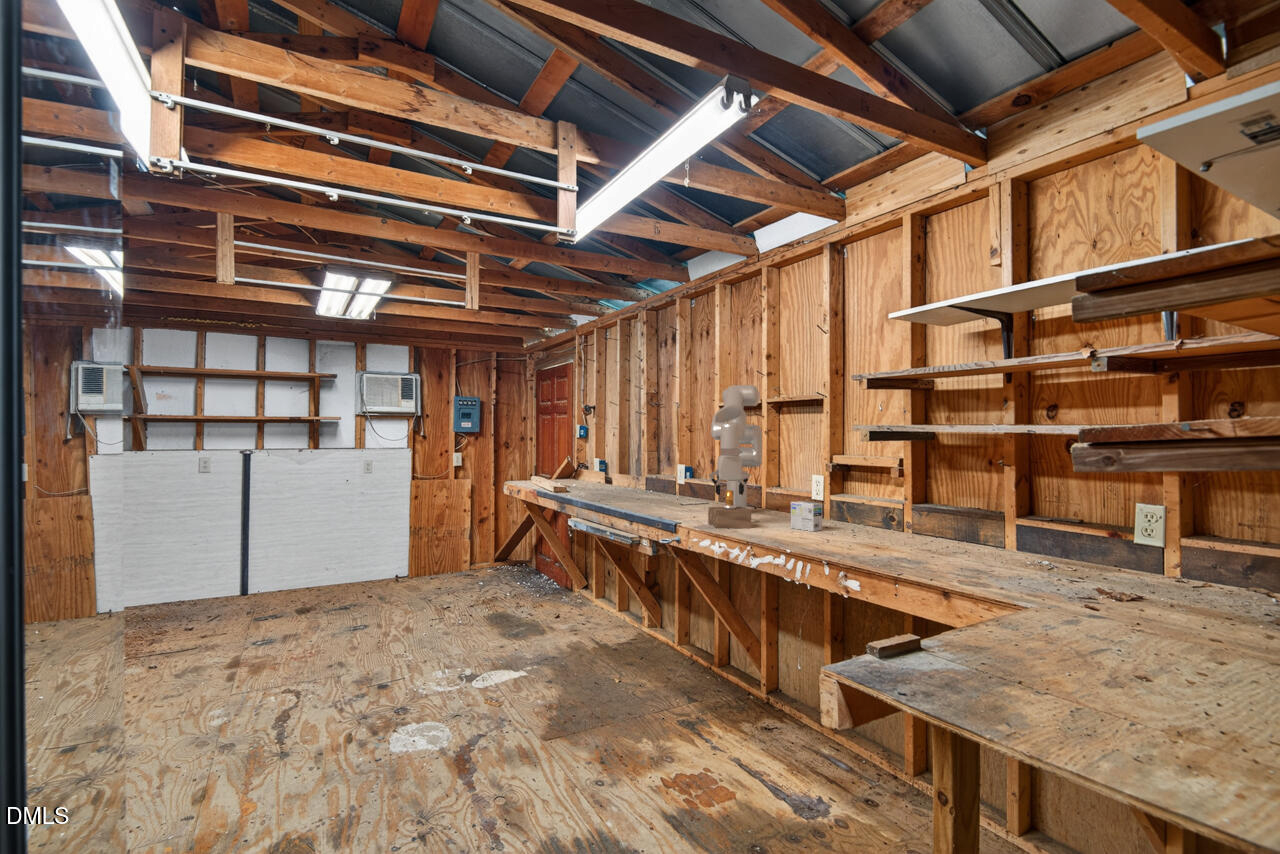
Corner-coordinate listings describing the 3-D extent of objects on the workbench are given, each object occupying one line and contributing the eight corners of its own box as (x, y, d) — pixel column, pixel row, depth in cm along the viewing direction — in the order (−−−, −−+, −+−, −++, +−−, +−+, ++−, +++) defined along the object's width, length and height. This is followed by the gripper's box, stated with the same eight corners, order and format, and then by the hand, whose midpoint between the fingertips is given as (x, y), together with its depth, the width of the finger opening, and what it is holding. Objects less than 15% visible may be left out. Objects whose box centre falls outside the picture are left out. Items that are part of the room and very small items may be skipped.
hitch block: (708, 523, 250) (708, 506, 250) (740, 523, 252) (740, 506, 252) (717, 528, 236) (717, 511, 236) (751, 528, 238) (751, 510, 238)
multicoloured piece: (720, 522, 246) (720, 489, 246) (733, 522, 247) (734, 489, 247) (724, 524, 241) (724, 491, 241) (738, 524, 241) (738, 491, 242)
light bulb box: (822, 530, 234) (823, 503, 235) (813, 532, 230) (813, 504, 230) (799, 527, 242) (799, 500, 243) (789, 528, 238) (790, 501, 238)
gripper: (746, 452, 249) (746, 493, 250) (706, 452, 247) (706, 493, 247) (753, 453, 242) (752, 495, 242) (711, 453, 240) (711, 496, 240)
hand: (729, 494), depth 245 cm, fingers open, 9 cm apart
